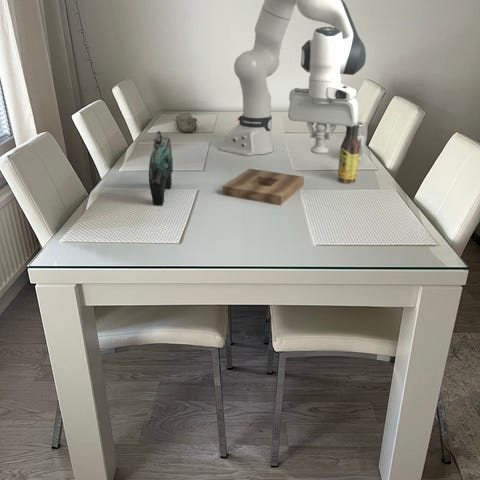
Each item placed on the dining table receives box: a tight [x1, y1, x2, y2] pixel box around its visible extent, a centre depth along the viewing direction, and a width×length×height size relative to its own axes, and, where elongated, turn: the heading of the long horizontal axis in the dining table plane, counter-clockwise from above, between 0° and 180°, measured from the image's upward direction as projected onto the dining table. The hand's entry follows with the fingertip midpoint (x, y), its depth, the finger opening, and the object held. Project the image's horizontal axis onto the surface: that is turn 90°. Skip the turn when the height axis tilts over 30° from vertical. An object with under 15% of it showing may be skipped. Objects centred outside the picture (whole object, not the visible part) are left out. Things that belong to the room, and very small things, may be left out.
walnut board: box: [221, 168, 305, 206], centre depth 161 cm, size 20×20×3 cm
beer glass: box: [357, 120, 369, 166], centre depth 184 cm, size 7×7×15 cm
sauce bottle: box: [337, 123, 360, 184], centre depth 164 cm, size 7×6×20 cm
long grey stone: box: [175, 112, 198, 133], centre depth 245 cm, size 35×5×10 cm
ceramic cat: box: [148, 130, 174, 206], centre depth 153 cm, size 20×6×20 cm, turn 178°
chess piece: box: [310, 123, 330, 155], centre depth 146 cm, size 5×5×9 cm
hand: (320, 138), depth 146 cm, fingers closed on chess piece, 3 cm apart
